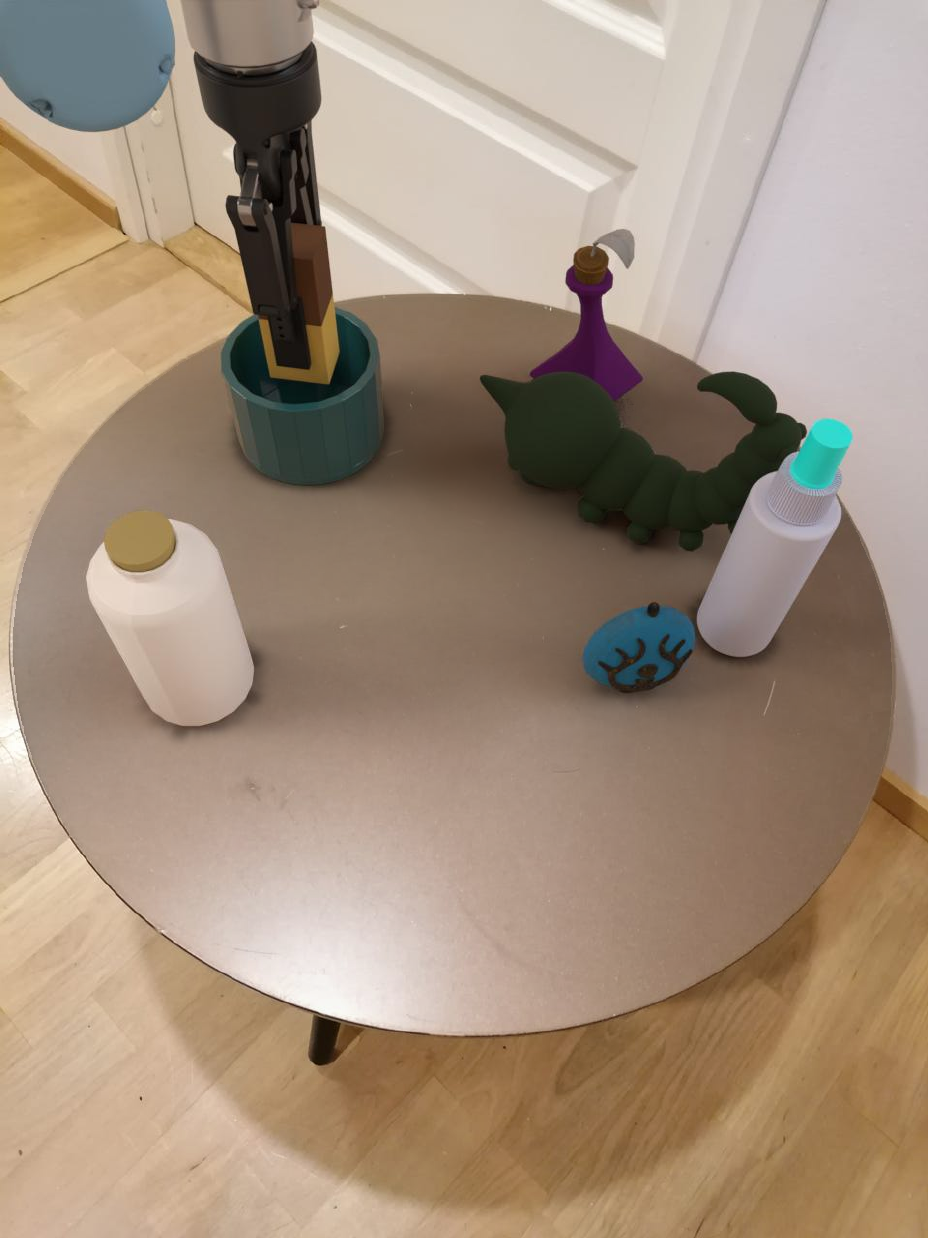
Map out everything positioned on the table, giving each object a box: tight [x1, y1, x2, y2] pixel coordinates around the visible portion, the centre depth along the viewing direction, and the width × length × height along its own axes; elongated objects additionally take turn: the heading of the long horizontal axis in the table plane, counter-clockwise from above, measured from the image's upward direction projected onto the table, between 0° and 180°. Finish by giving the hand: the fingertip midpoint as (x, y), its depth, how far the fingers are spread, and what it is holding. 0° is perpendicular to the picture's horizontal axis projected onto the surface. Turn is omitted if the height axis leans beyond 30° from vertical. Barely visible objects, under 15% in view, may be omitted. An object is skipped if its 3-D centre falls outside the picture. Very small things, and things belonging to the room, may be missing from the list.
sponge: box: [258, 223, 340, 385], centre depth 73 cm, size 4×5×12 cm
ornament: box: [582, 601, 696, 694], centre depth 68 cm, size 8×5×10 cm, turn 100°
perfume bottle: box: [529, 228, 644, 403], centre depth 80 cm, size 8×8×18 cm
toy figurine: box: [479, 371, 808, 553], centre depth 74 cm, size 9×19×25 cm
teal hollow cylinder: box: [220, 305, 385, 486], centre depth 81 cm, size 13×13×9 cm
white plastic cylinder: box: [85, 510, 255, 727], centre depth 63 cm, size 8×8×18 cm
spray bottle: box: [696, 418, 853, 658], centre depth 66 cm, size 6×6×22 cm
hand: (301, 344), depth 77 cm, fingers closed on sponge, 4 cm apart
